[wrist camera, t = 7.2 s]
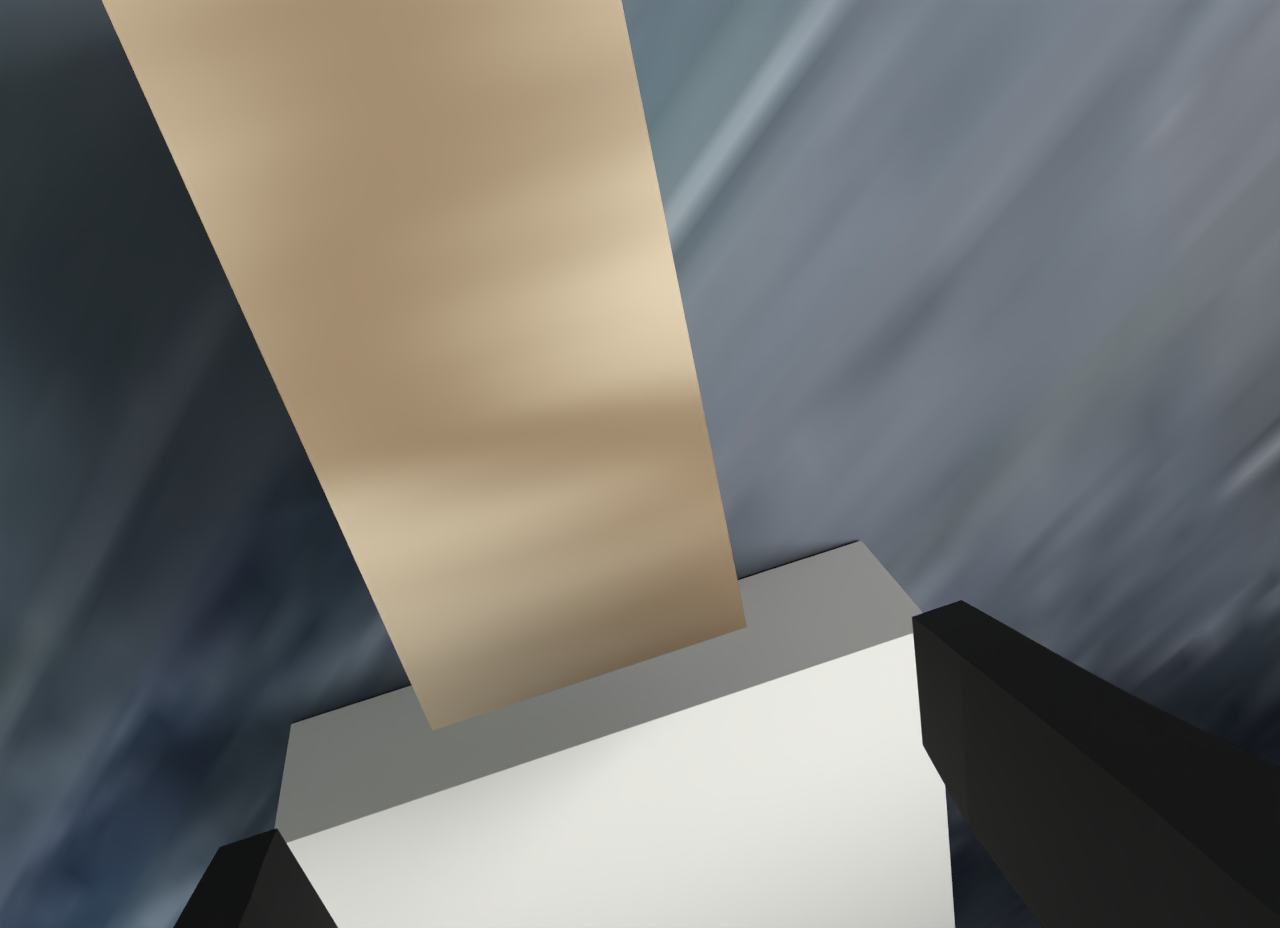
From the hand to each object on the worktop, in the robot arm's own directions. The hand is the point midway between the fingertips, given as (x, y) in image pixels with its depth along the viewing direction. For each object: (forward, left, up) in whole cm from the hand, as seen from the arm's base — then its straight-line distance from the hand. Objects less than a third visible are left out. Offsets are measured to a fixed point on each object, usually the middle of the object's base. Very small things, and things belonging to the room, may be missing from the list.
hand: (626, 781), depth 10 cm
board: (0, +7, -5) cm, 9 cm away
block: (0, -2, -2) cm, 3 cm away
